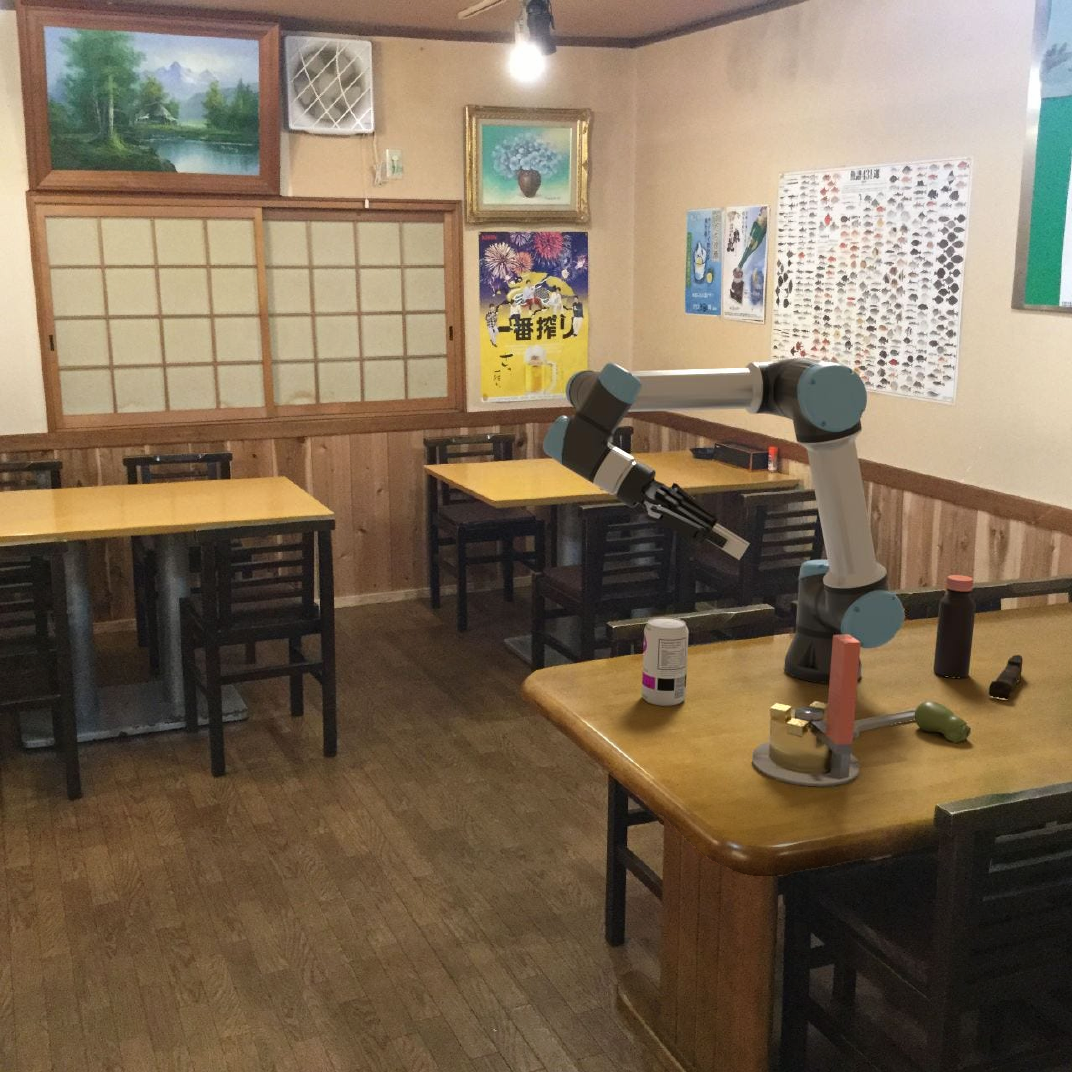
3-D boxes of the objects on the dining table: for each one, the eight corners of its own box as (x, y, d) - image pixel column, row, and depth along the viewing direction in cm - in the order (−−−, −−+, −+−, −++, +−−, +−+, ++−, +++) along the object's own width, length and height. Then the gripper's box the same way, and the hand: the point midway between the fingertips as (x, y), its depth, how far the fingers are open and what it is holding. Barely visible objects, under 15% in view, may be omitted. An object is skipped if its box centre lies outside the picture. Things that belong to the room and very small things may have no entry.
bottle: (975, 675, 237) (985, 579, 233) (954, 681, 233) (964, 583, 229) (947, 666, 242) (956, 572, 238) (926, 671, 239) (935, 576, 234)
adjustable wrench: (921, 714, 216) (922, 705, 216) (946, 727, 210) (947, 717, 210) (809, 731, 206) (809, 722, 206) (831, 745, 201) (832, 735, 200)
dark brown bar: (1009, 703, 222) (1012, 680, 221) (987, 698, 224) (990, 675, 223) (1031, 677, 237) (1034, 655, 236) (1011, 673, 239) (1013, 651, 238)
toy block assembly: (757, 745, 195) (765, 609, 190) (824, 741, 198) (834, 606, 193) (804, 793, 177) (814, 644, 172) (877, 788, 179) (890, 641, 174)
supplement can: (634, 702, 218) (637, 624, 215) (651, 689, 225) (654, 614, 222) (675, 710, 215) (679, 631, 211) (691, 696, 222) (695, 620, 219)
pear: (930, 693, 209) (980, 718, 202) (922, 719, 211) (972, 745, 204) (912, 699, 206) (962, 725, 199) (905, 726, 208) (954, 752, 201)
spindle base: (835, 743, 200) (839, 690, 198) (876, 784, 184) (881, 727, 182) (739, 746, 198) (742, 693, 196) (771, 789, 182) (775, 731, 180)
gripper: (629, 483, 208) (744, 554, 204) (602, 508, 197) (723, 584, 193) (648, 449, 205) (764, 520, 201) (621, 472, 193) (745, 549, 189)
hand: (744, 551), depth 197 cm, fingers closed
